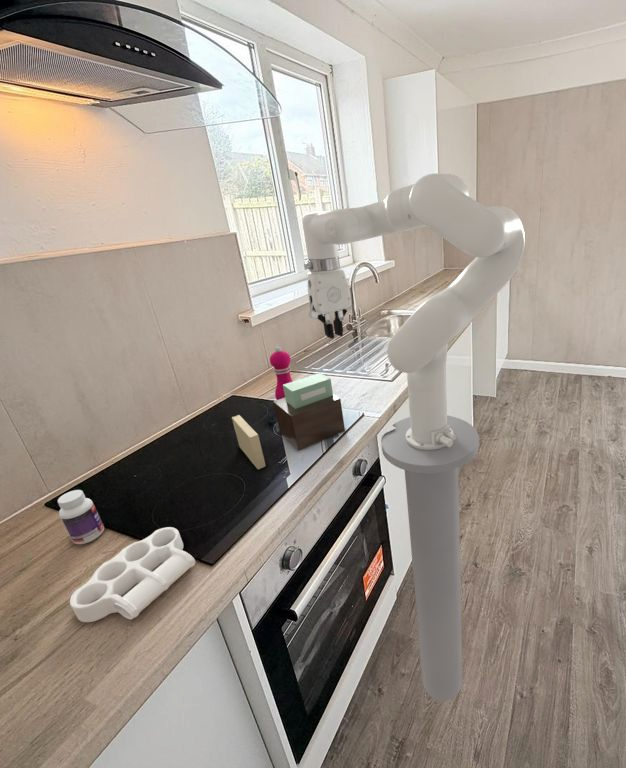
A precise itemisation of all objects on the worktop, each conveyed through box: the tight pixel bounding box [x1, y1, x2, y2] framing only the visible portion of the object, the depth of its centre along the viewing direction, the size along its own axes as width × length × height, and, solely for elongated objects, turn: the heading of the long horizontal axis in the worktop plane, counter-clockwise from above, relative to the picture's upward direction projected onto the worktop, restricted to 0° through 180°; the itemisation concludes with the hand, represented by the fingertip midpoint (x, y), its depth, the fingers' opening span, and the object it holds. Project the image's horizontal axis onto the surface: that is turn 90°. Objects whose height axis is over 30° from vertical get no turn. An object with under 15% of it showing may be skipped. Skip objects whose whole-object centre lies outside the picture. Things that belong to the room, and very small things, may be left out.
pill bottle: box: [57, 489, 105, 545], centre depth 81 cm, size 5×5×10 cm
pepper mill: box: [269, 346, 294, 400], centre depth 126 cm, size 7×7×20 cm
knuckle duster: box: [69, 526, 197, 623], centre depth 71 cm, size 3×18×15 cm
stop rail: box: [231, 414, 267, 470], centre depth 103 cm, size 14×2×9 cm, turn 37°
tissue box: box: [283, 372, 334, 409], centre depth 110 cm, size 11×6×5 cm, turn 127°
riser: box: [272, 393, 346, 451], centre depth 112 cm, size 12×14×10 cm
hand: (334, 335), depth 110 cm, fingers closed
